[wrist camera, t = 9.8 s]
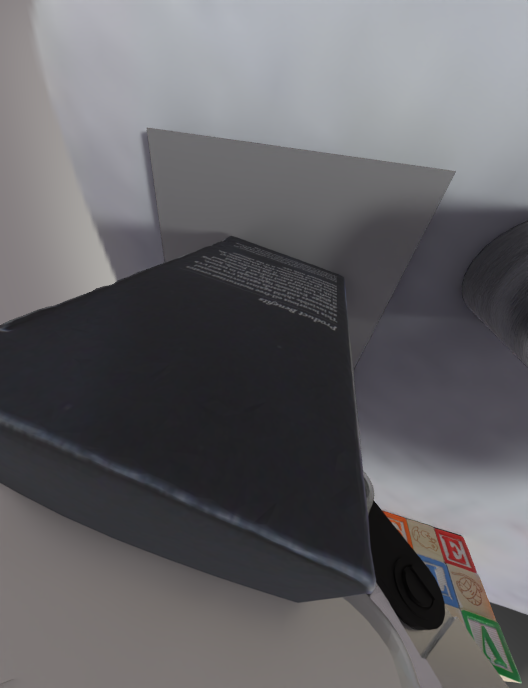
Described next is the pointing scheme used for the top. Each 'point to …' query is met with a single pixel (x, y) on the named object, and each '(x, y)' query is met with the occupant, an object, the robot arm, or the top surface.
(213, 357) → the small box
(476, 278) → the metallic grey egg
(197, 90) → the top surface
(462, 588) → the stack of blocks
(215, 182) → the slate board
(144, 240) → the top surface
